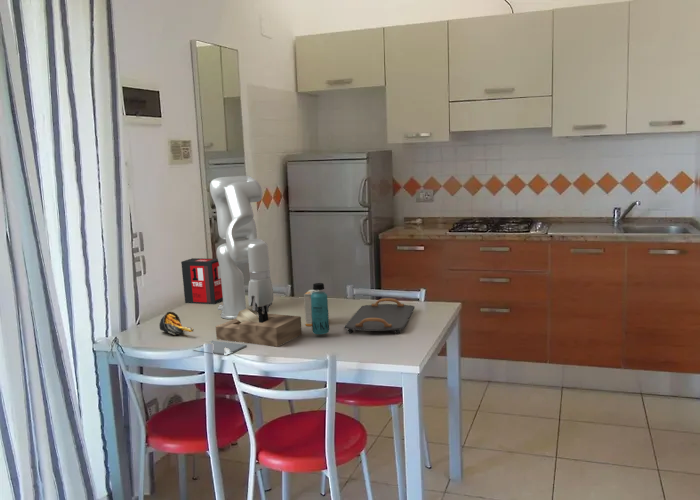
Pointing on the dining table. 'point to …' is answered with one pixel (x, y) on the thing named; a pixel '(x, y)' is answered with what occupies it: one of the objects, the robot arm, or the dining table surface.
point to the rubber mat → (221, 345)
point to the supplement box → (308, 306)
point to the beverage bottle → (319, 310)
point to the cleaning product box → (202, 281)
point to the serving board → (381, 317)
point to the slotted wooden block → (262, 330)
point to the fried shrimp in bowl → (172, 324)
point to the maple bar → (247, 316)
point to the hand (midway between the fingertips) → (263, 323)
